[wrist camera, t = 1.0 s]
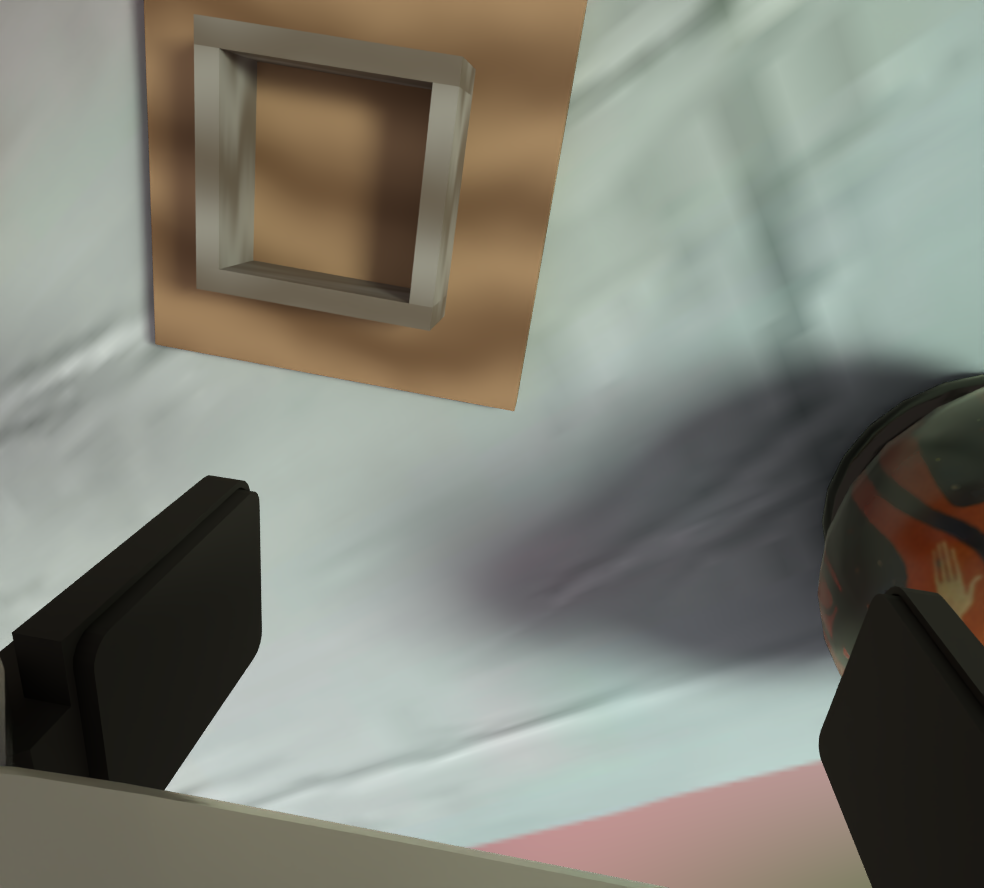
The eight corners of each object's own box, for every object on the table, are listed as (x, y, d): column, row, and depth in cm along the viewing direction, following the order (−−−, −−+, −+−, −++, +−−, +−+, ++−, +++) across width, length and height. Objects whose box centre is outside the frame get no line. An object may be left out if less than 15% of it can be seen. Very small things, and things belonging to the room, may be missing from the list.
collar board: (158, -87, 35) (84, -132, 29) (591, -22, 33) (593, -58, 28) (169, 338, 43) (113, 360, 38) (516, 403, 42) (507, 434, 37)
